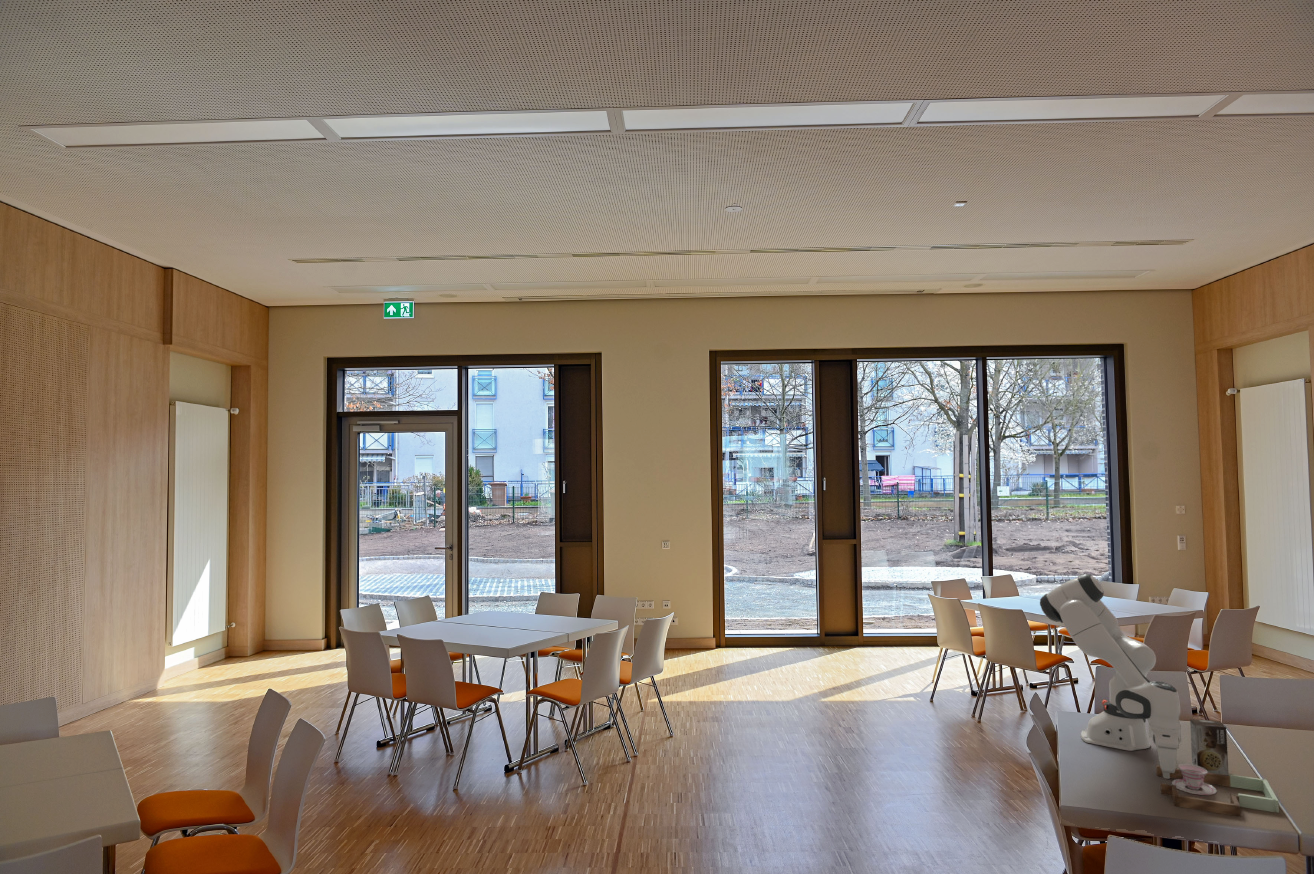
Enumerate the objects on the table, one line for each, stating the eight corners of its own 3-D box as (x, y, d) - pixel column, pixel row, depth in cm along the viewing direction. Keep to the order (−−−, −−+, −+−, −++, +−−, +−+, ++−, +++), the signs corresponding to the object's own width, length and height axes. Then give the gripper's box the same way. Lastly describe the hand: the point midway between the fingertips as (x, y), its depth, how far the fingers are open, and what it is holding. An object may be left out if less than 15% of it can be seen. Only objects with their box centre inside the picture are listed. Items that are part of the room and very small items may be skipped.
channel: (1163, 803, 243) (1163, 794, 243) (1156, 774, 265) (1156, 765, 265) (1244, 817, 233) (1243, 806, 234) (1229, 785, 256) (1229, 775, 256)
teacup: (1163, 780, 260) (1162, 761, 261) (1199, 780, 260) (1199, 761, 261) (1187, 796, 248) (1187, 776, 249) (1226, 795, 248) (1225, 775, 249)
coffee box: (1222, 768, 269) (1220, 720, 270) (1229, 775, 263) (1227, 726, 264) (1191, 765, 272) (1189, 718, 273) (1197, 772, 266) (1195, 724, 267)
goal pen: (1239, 806, 240) (1238, 794, 241) (1229, 785, 256) (1229, 774, 256) (1278, 812, 236) (1278, 800, 236) (1266, 790, 251) (1266, 779, 251)
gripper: (1151, 722, 268) (1152, 764, 267) (1155, 742, 250) (1157, 786, 249) (1173, 725, 265) (1174, 767, 264) (1179, 745, 247) (1180, 790, 246)
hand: (1166, 776), depth 257 cm, fingers closed
